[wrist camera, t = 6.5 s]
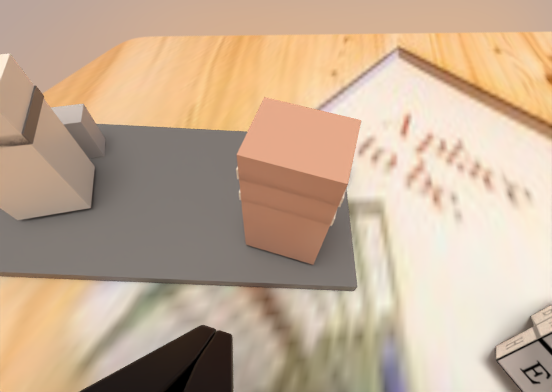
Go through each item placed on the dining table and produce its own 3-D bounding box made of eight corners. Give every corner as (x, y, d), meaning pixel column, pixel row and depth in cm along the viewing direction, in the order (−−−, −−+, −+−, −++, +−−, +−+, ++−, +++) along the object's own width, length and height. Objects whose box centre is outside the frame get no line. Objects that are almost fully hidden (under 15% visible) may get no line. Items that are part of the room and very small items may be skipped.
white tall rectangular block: (92, 207, 23) (-6, 102, 15) (16, 220, 22) (-135, 117, 14) (96, 166, 25) (12, 53, 17) (26, 176, 24) (-100, 63, 16)
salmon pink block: (314, 265, 21) (350, 184, 13) (244, 244, 22) (234, 154, 14) (326, 217, 23) (363, 120, 15) (261, 199, 24) (262, 96, 16)
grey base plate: (353, 290, 22) (375, 267, 18) (-30, 274, 21) (-102, 246, 17) (338, 143, 29) (351, 102, 25) (53, 129, 29) (18, 84, 25)
